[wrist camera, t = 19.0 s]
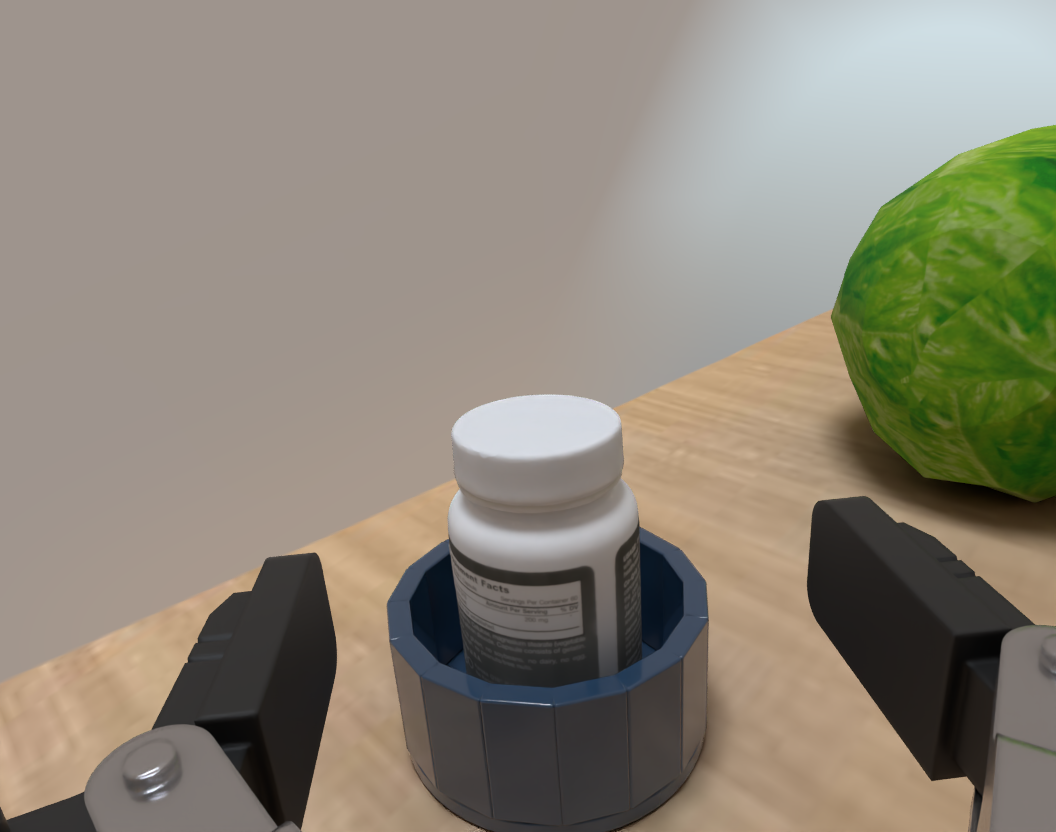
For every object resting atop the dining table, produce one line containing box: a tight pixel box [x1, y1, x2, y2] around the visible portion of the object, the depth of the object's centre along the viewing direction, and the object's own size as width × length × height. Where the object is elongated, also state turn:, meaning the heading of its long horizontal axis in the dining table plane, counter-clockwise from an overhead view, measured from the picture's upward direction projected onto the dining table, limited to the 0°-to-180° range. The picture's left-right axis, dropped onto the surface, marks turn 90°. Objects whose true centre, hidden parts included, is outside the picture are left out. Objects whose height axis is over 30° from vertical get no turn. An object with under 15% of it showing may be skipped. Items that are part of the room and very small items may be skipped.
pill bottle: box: [448, 395, 642, 687], centre depth 19 cm, size 5×5×8 cm
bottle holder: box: [387, 526, 709, 832], centre depth 21 cm, size 8×8×4 cm
